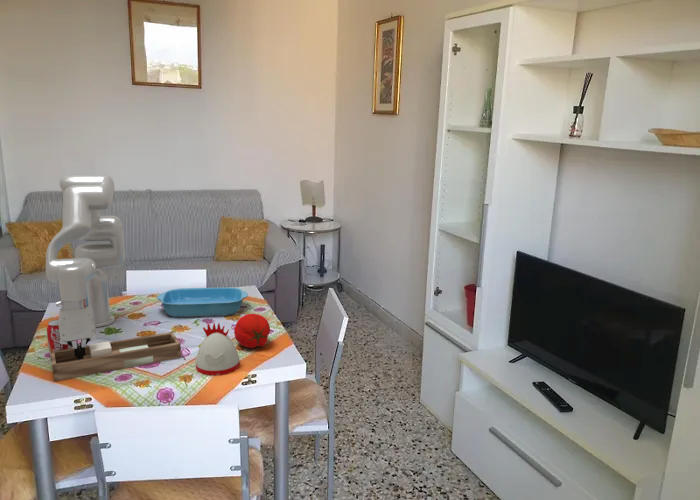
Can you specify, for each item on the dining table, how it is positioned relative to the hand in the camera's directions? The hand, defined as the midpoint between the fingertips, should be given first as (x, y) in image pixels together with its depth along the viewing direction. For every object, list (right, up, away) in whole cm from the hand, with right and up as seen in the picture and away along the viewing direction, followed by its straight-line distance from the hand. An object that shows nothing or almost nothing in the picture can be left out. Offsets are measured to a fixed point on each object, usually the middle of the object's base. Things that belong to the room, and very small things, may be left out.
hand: (80, 358), depth 175 cm
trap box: (+9, -2, +6) cm, 12 cm away
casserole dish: (+24, +9, +57) cm, 63 cm away
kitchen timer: (+43, -4, +5) cm, 43 cm away
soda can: (-11, -1, +10) cm, 15 cm away
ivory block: (+5, 0, +3) cm, 6 cm away
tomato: (+51, 0, +22) cm, 56 cm away
